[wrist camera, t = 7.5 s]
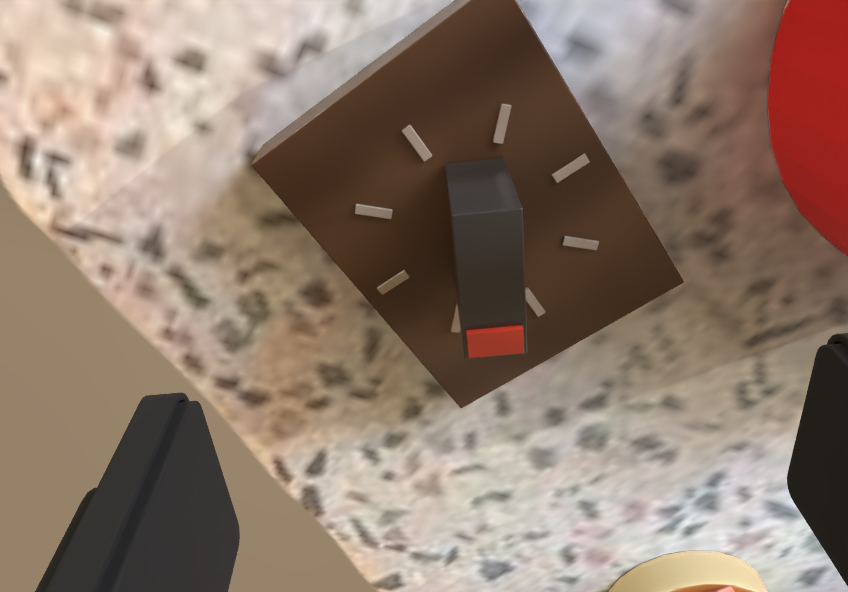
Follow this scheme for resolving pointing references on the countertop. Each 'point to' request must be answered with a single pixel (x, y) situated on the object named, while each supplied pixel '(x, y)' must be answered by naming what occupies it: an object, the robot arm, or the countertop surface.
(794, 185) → the toy clock
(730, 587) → the cake
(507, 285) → the dial
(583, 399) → the countertop surface
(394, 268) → the panel
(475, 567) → the countertop surface
